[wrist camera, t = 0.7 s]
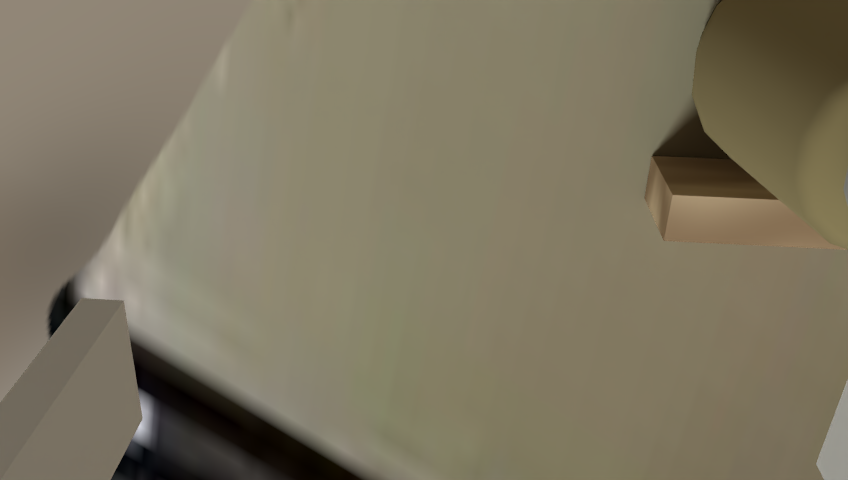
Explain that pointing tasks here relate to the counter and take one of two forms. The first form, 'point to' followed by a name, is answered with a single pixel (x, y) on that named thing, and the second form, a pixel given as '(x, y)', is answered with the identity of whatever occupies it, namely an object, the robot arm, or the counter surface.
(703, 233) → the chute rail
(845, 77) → the squeeze bottle
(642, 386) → the counter surface
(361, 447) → the counter surface
